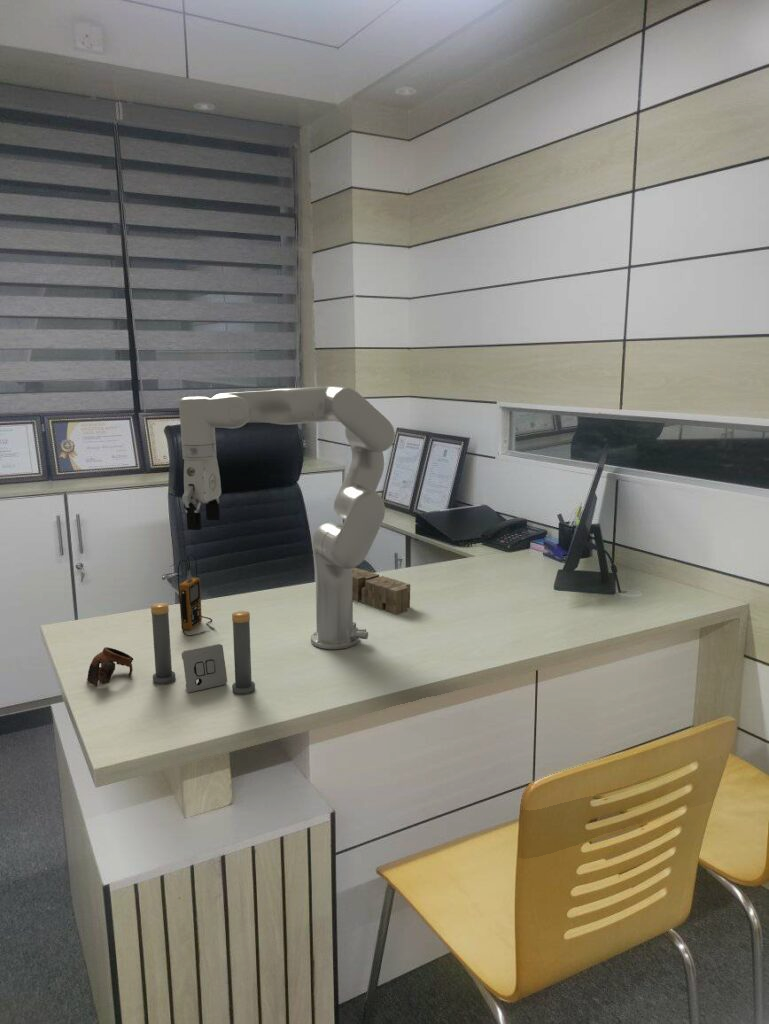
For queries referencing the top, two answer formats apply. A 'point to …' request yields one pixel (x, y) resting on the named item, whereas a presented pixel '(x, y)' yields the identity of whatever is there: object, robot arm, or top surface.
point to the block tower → (380, 591)
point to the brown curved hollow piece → (107, 665)
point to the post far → (162, 644)
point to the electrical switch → (204, 667)
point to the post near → (242, 654)
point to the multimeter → (190, 601)
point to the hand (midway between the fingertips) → (204, 524)
